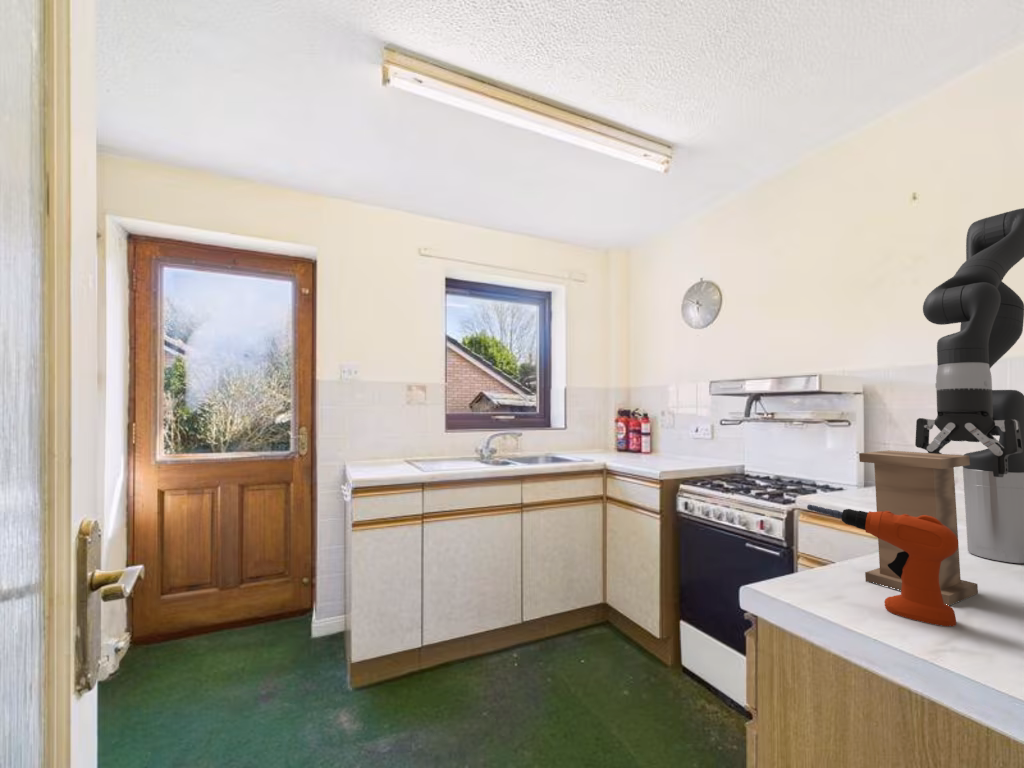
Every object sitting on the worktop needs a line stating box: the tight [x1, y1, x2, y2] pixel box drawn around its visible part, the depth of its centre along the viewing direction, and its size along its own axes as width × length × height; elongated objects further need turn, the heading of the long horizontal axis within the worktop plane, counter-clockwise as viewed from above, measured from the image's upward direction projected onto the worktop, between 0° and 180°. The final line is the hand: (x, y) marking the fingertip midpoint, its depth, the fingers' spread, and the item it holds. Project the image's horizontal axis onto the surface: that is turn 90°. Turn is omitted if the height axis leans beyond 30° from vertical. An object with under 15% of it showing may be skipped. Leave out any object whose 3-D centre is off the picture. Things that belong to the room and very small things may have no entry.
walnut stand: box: [858, 450, 979, 606], centre depth 75 cm, size 10×11×22 cm
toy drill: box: [806, 504, 959, 627], centre depth 69 cm, size 5×19×15 cm, turn 42°
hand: (966, 474), depth 84 cm, fingers open, 8 cm apart
